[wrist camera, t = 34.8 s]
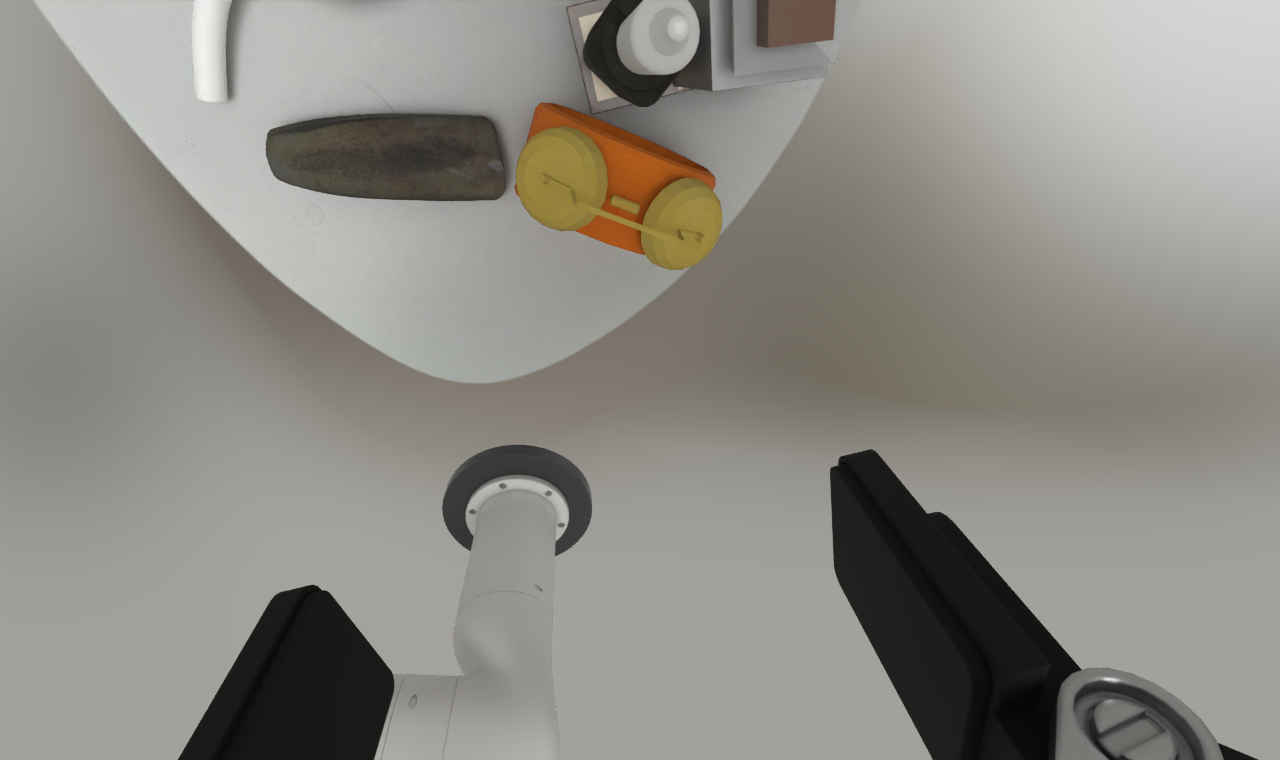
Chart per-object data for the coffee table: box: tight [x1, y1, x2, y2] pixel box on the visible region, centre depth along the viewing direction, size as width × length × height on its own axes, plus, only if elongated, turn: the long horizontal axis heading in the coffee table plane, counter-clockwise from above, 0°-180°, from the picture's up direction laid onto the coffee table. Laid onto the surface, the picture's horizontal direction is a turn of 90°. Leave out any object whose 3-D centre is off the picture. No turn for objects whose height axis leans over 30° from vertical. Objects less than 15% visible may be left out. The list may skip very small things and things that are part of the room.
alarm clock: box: [515, 103, 722, 270], centre depth 36 cm, size 13×6×20 cm, turn 69°
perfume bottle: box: [674, 0, 838, 91], centre depth 33 cm, size 7×7×18 cm
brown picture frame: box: [566, 0, 691, 114], centre depth 41 cm, size 7×14×1 cm, turn 102°
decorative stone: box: [266, 114, 506, 201], centre depth 41 cm, size 17×6×4 cm, turn 89°
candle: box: [583, 0, 700, 107], centre depth 30 cm, size 5×5×25 cm
